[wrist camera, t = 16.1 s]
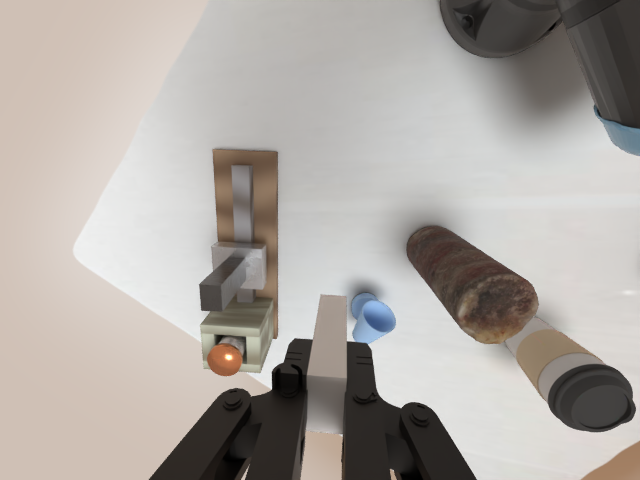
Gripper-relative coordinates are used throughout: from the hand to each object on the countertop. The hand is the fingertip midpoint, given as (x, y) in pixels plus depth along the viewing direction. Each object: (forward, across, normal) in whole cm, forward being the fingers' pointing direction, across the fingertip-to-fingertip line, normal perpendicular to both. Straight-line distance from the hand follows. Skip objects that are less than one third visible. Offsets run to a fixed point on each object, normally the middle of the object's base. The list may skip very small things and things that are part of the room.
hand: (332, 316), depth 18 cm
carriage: (+25, -14, -7) cm, 29 cm away
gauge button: (+23, -14, -17) cm, 32 cm away
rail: (+28, -14, -6) cm, 32 cm away
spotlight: (+29, +5, -14) cm, 33 cm away
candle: (+29, +14, -4) cm, 33 cm away
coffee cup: (+29, +31, -19) cm, 46 cm away
